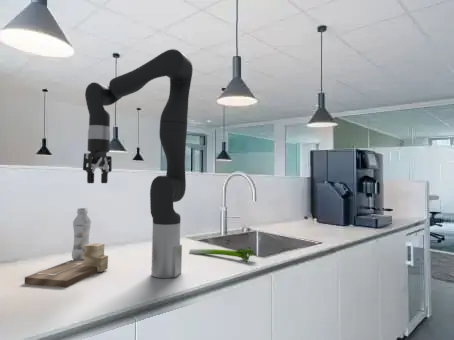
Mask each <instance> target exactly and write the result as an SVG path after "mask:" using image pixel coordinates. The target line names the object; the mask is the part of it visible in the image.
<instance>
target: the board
mask: <svg viewBox="0 0 454 340" xmlns="http://www.w3.org/2000/svg"><path fill="white" fill-rule="evenodd" d="M95 274H98V272H97V267H89V266H84V261H78V260H73V259H70V260H68V261H65V262H63V263H60V264H57V265H54V266H52V267H49V268H46V269H43V270H40V271H38V272H35V273H33V274H30V275H28V276H25V277H24V285H30V286H31V285H32V286H44V287H54V288H55V287H56V288H65V289H66V288H68V287H70V286H73V285H75V284H77V283H79V282H81V281H84V279H88V278H89V277H91V276H93V275H95Z"/></svg>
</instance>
